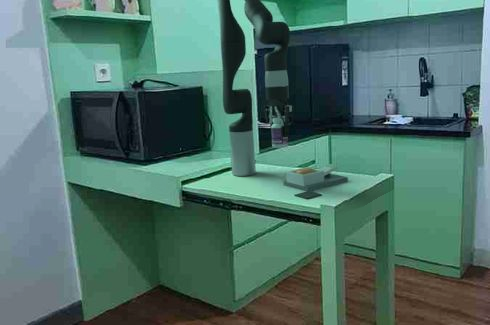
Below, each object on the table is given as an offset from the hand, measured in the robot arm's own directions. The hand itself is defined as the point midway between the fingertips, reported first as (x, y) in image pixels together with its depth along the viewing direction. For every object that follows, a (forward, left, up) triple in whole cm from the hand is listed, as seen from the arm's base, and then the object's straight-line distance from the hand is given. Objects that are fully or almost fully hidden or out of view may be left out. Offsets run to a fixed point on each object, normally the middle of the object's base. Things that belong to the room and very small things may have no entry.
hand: (279, 136), depth 149 cm
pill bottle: (0, 0, -4) cm, 4 cm away
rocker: (+4, +16, -14) cm, 22 cm away
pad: (+14, -1, -18) cm, 23 cm away
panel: (+4, +11, -18) cm, 21 cm away
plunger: (+4, +7, -14) cm, 16 cm away
